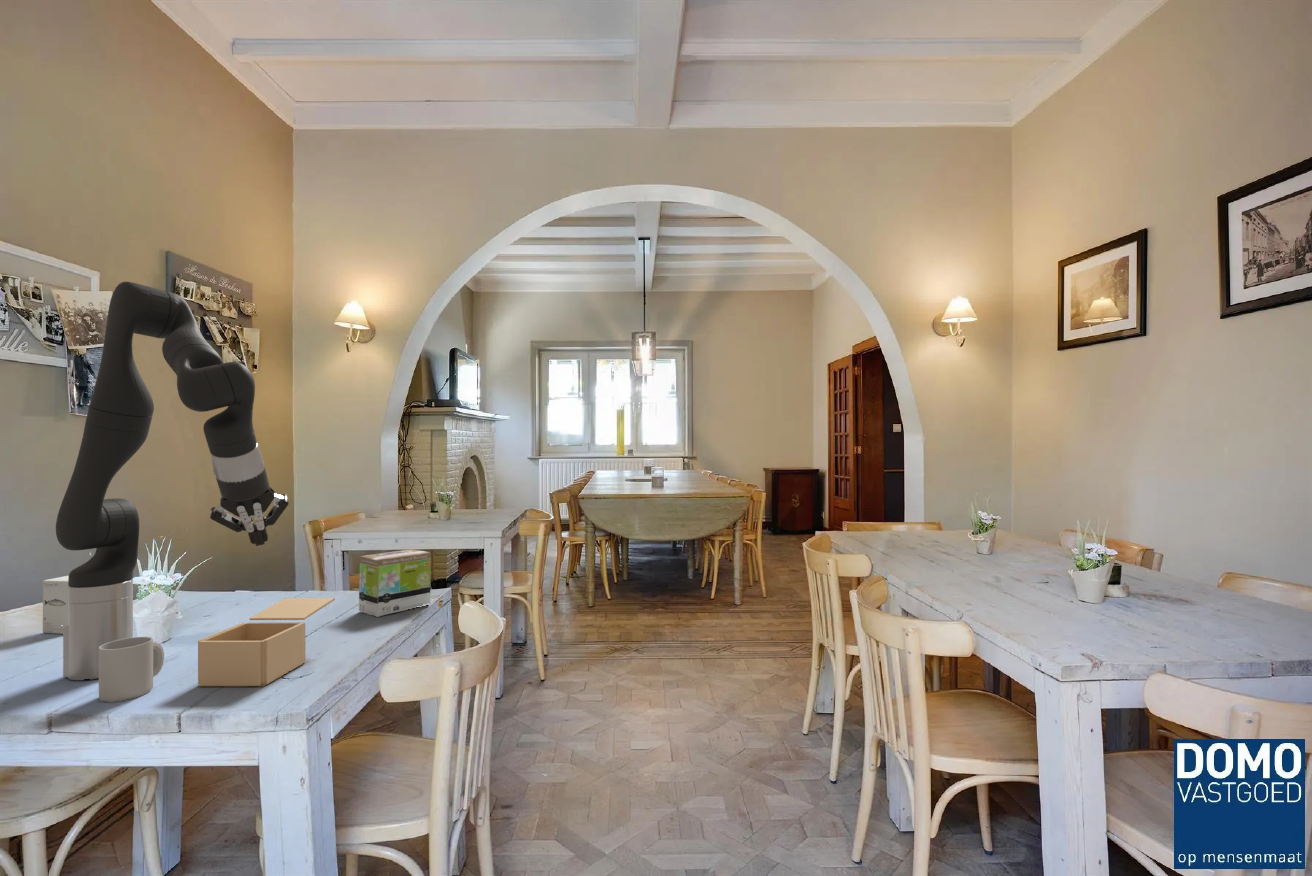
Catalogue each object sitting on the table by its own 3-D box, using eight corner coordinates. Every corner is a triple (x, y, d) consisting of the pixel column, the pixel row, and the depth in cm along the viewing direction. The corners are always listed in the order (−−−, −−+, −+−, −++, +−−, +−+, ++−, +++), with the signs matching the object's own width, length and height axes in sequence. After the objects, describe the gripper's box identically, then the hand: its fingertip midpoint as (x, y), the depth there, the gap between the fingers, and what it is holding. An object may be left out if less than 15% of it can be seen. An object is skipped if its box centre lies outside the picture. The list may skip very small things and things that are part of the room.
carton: (194, 687, 109) (194, 641, 109) (244, 662, 121) (243, 622, 122) (264, 687, 109) (264, 641, 109) (306, 662, 121) (306, 621, 121)
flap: (249, 618, 122) (284, 598, 133) (249, 620, 122) (284, 600, 133) (304, 617, 122) (334, 598, 133) (304, 619, 122) (335, 599, 133)
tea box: (378, 618, 153) (377, 559, 153) (358, 612, 159) (357, 555, 159) (431, 605, 165) (431, 550, 165) (411, 600, 171) (411, 547, 171)
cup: (87, 701, 104) (87, 648, 104) (146, 679, 113) (146, 631, 114) (121, 704, 102) (121, 650, 102) (178, 681, 112) (178, 632, 112)
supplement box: (41, 633, 144) (41, 580, 144) (75, 624, 151) (75, 573, 151) (66, 635, 142) (67, 580, 143) (100, 625, 150) (100, 574, 150)
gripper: (281, 451, 116) (297, 523, 124) (196, 464, 109) (219, 539, 118) (283, 472, 110) (300, 546, 119) (193, 487, 104) (218, 564, 112)
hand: (260, 542), depth 118 cm, fingers closed
